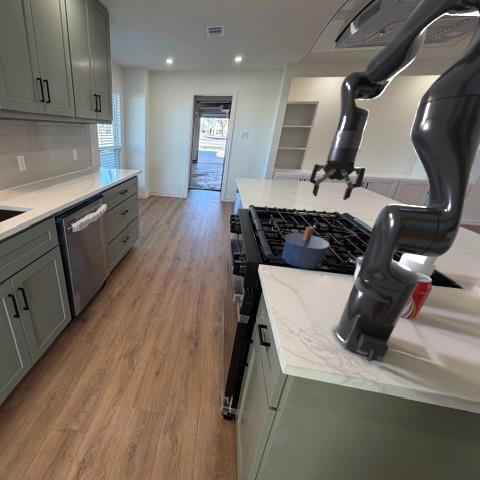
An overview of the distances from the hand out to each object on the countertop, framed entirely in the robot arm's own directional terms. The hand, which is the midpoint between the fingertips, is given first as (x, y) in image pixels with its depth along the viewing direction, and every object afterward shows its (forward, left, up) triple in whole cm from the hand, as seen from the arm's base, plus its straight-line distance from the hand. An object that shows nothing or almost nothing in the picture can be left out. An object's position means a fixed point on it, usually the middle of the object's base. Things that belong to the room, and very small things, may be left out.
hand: (329, 197), depth 85 cm
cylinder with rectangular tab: (+12, -33, -26) cm, 44 cm away
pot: (+1, +3, -26) cm, 26 cm away
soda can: (-19, -22, -26) cm, 39 cm away
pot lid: (+1, +3, -17) cm, 18 cm away
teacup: (-6, -17, -26) cm, 32 cm away
